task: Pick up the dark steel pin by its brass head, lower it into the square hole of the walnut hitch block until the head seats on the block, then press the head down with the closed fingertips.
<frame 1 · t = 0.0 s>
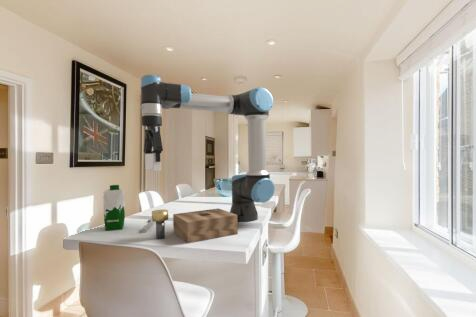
hand: (153, 170, 109), 28 cm above the table, tool pointing down, fingers open, 13 cm apart
pin: (160, 237, 113), on the table
hitch block: (205, 233, 119), on the table
milk carton: (114, 228, 130), on the table
adjustable wrench: (149, 226, 135), on the table
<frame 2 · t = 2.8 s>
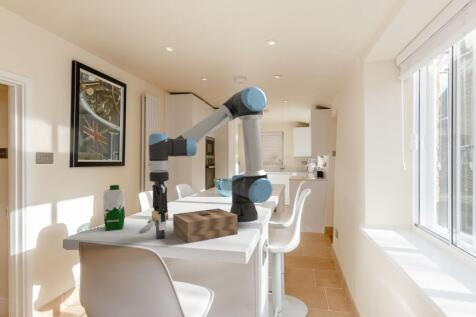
hand: (160, 227, 113), 4 cm above the table, tool pointing down, fingers closed on pin, 6 cm apart
pin: (160, 237, 113), on the table, touching gripper
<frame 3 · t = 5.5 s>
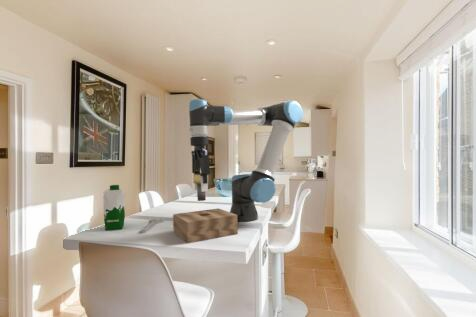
hand: (201, 190, 119), 18 cm above the table, tool pointing down, fingers closed on pin, 6 cm apart
pin: (201, 200, 119), point 14 cm above the table, touching gripper
when the fingers open (9 cm above the table, at t = 8.3 s): pin drops 5 cm, resting on hitch block.
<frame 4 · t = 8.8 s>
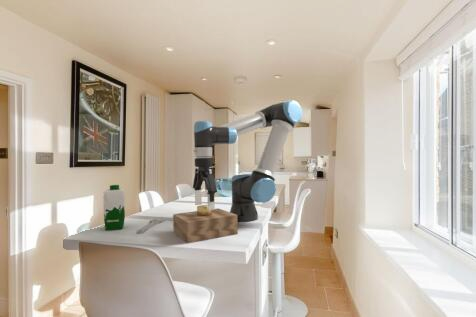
hand: (204, 207, 119), 11 cm above the table, tool pointing down, fingers open, 13 cm apart
pin: (205, 232, 119), resting on hitch block
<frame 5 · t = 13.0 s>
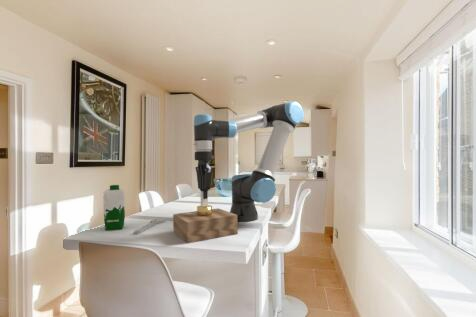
hand: (204, 205, 119), 12 cm above the table, tool pointing down, fingers closed
pin: (205, 232, 119), resting on hitch block, touching gripper
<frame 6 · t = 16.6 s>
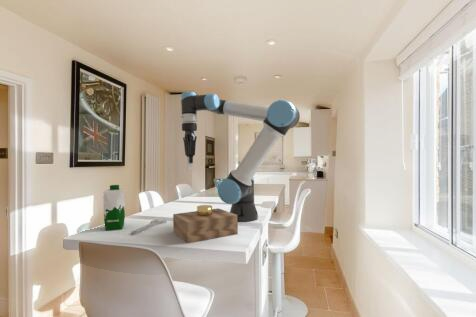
hand: (190, 169, 141), 26 cm above the table, tool pointing down, fingers closed
pin: (205, 232, 119), resting on hitch block
at the end: pin 0.0 cm off-centre on the hitch block, point 0.5 cm above the hitch block's base; pin tilted 0°; the gripper is holding nothing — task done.
